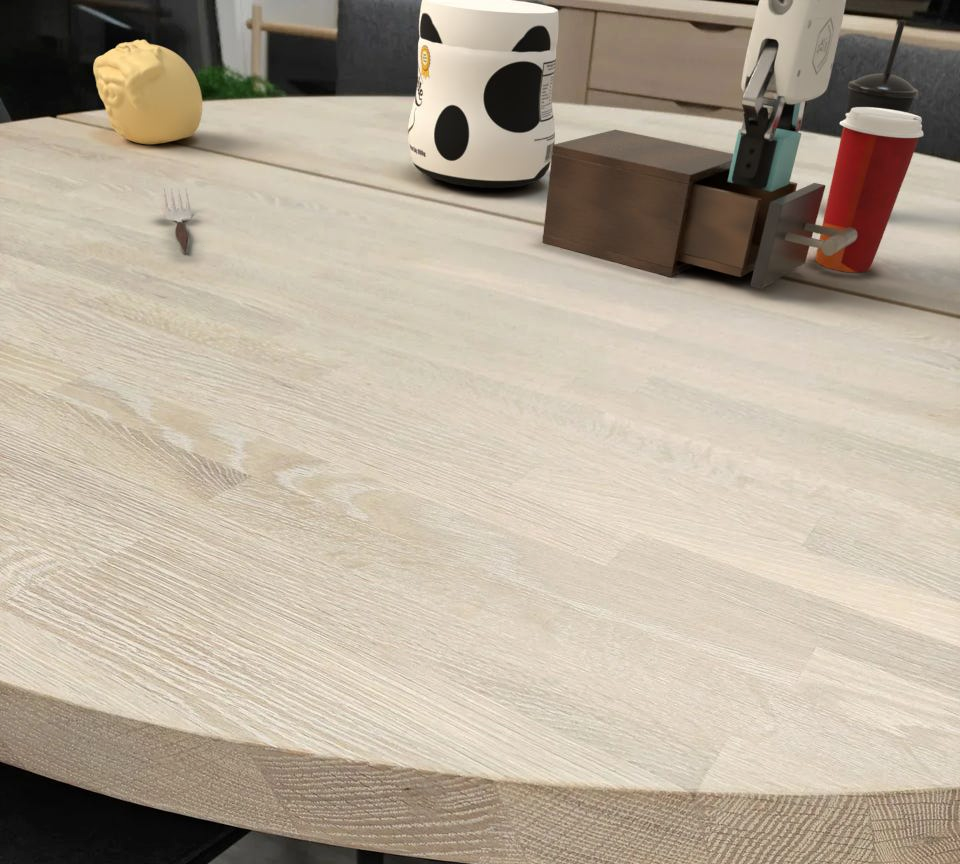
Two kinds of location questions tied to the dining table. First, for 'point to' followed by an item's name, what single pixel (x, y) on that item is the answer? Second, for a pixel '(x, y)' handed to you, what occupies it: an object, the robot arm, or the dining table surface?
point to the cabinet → (625, 197)
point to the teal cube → (776, 158)
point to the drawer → (755, 228)
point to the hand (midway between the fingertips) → (759, 179)
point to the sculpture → (148, 92)
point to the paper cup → (867, 181)
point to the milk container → (484, 92)
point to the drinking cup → (882, 86)
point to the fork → (179, 218)
